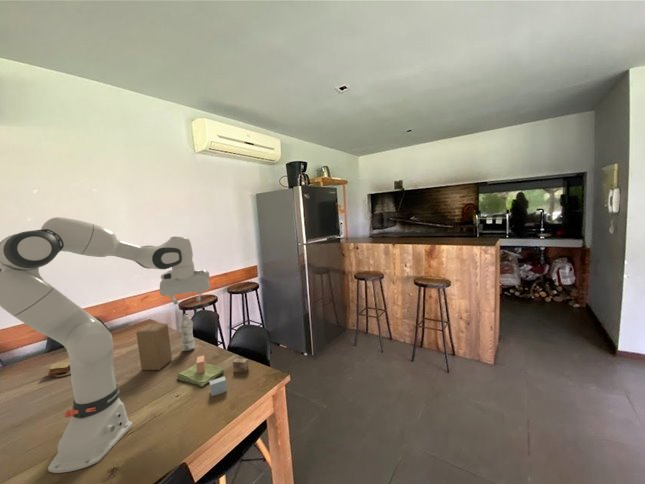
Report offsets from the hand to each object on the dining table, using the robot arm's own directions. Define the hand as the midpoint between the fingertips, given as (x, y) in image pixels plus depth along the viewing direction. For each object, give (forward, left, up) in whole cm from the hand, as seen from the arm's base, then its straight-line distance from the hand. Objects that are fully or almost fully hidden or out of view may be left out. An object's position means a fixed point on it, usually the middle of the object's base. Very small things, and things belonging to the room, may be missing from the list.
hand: (187, 302), depth 124 cm
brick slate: (-17, -14, -34) cm, 41 cm away
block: (+13, +22, -34) cm, 43 cm away
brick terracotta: (-2, -3, -32) cm, 32 cm away
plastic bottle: (+26, +11, -34) cm, 44 cm away
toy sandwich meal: (+19, +66, -35) cm, 77 cm away
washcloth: (-2, -3, -35) cm, 35 cm away
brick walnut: (-3, -21, -34) cm, 40 cm away
